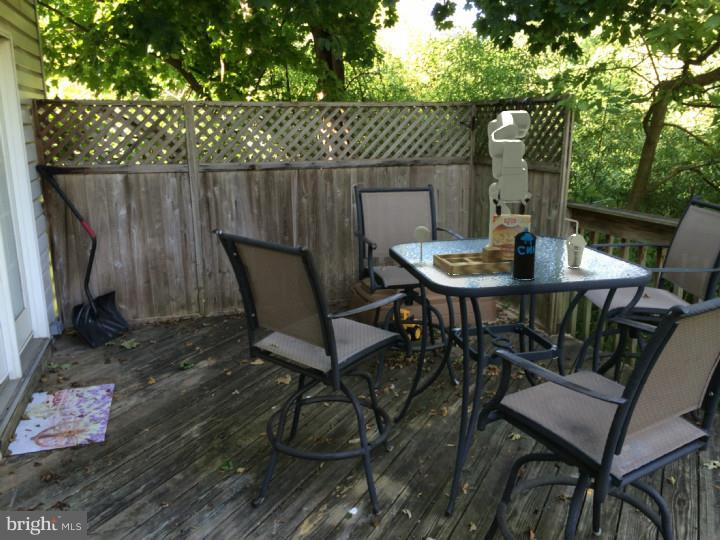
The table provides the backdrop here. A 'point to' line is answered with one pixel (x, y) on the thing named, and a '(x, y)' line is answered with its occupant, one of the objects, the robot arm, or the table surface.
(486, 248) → the block
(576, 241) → the cup with straw
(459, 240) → the table surface
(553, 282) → the table surface
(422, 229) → the lollipop
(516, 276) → the aerosol can
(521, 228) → the coffeecake box
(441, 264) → the tray
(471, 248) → the table surface
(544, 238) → the table surface
